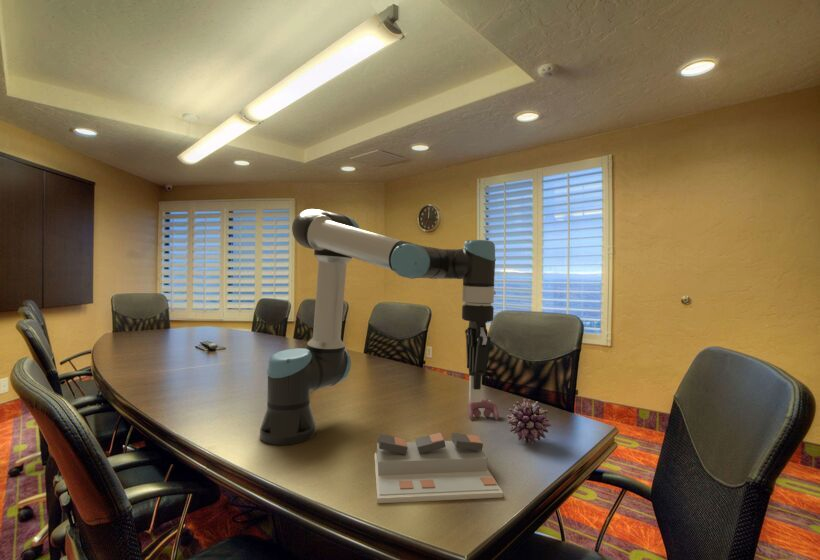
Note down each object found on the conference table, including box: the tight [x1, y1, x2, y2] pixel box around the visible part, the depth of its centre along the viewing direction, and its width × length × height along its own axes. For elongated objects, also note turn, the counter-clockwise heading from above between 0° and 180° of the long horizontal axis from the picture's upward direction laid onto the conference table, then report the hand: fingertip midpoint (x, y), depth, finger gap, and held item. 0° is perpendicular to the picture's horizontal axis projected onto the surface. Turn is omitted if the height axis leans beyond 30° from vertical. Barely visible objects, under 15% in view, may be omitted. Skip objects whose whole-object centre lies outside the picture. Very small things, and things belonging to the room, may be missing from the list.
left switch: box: [377, 433, 408, 455], centre depth 91 cm, size 6×5×2 cm
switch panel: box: [374, 440, 504, 504], centre depth 89 cm, size 26×20×4 cm
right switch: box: [450, 432, 484, 451], centre depth 94 cm, size 6×5×2 cm
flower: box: [506, 398, 552, 445], centre depth 108 cm, size 12×12×12 cm
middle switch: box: [414, 432, 446, 454], centre depth 92 cm, size 6×5×2 cm
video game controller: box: [467, 398, 500, 421], centre depth 127 cm, size 10×5×7 cm, turn 93°
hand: (474, 401), depth 94 cm, fingers closed
